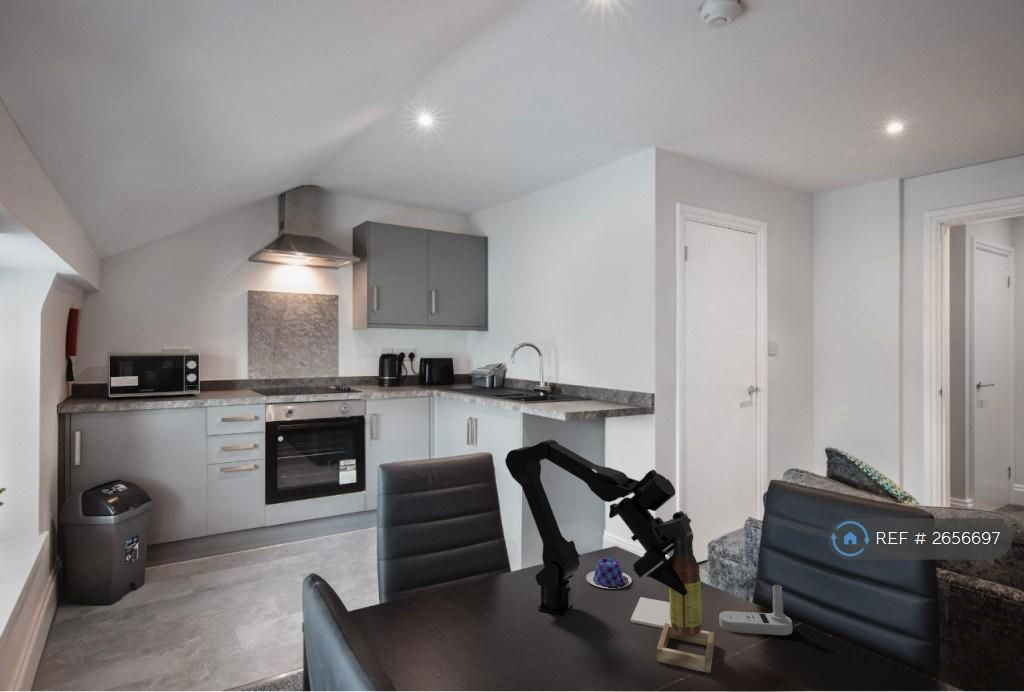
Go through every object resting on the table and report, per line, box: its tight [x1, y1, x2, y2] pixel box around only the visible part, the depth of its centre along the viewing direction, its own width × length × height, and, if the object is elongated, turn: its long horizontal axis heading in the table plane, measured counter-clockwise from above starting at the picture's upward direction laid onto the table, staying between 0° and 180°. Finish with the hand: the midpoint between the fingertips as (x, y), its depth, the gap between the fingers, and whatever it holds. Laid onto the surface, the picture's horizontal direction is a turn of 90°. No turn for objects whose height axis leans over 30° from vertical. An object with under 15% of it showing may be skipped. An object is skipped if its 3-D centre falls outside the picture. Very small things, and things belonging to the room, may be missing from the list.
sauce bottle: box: [668, 530, 703, 635], centre depth 113 cm, size 7×6×20 cm
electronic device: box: [718, 584, 793, 636], centre depth 122 cm, size 5×10×15 cm
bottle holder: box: [656, 623, 715, 674], centre depth 112 cm, size 10×11×2 cm
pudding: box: [585, 557, 633, 590], centre depth 147 cm, size 12×12×5 cm
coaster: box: [630, 596, 671, 629], centre depth 128 cm, size 12×12×1 cm
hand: (691, 588), depth 112 cm, fingers closed on sauce bottle, 6 cm apart
